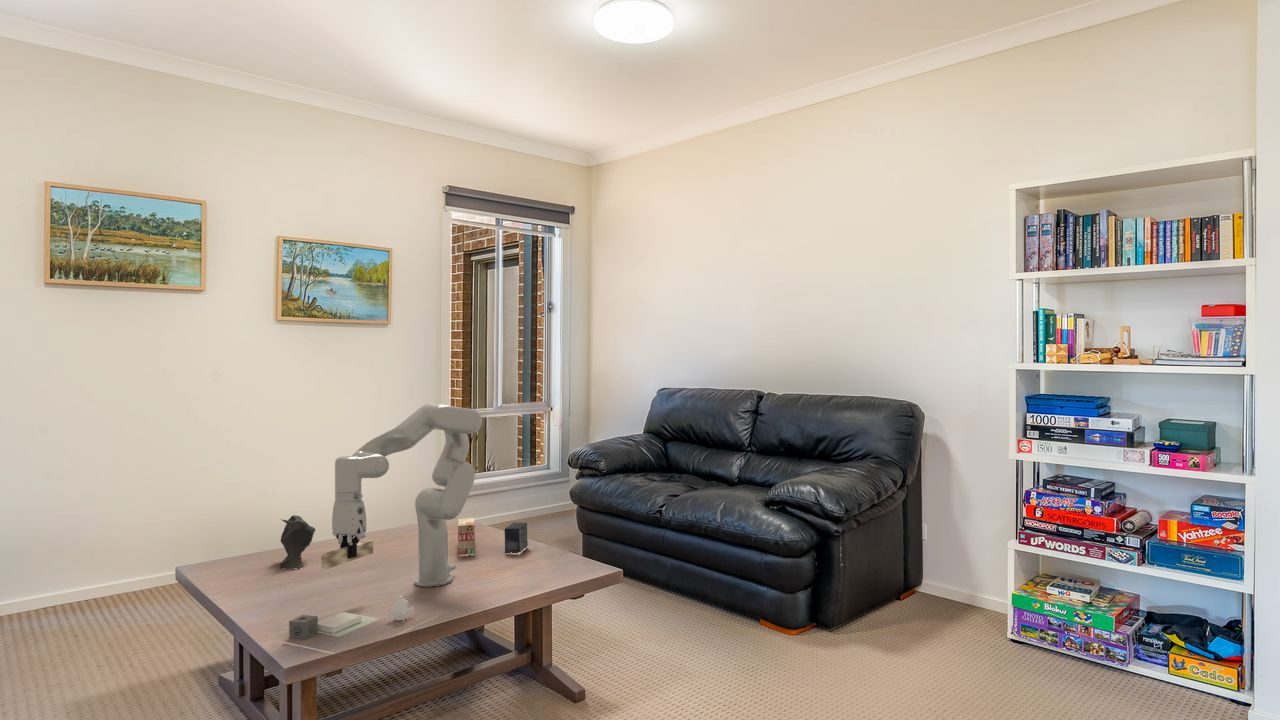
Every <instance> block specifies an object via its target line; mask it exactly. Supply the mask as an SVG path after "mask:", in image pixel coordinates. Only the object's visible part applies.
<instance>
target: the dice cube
mask: <svg viewBox="0 0 1280 720" xmlns="http://www.w3.org/2000/svg"><path fill="white" fill-rule="evenodd" d="M318 621H319V617H318V615H308V614H301V615H298V616H297V617H295V618H292V619H291V620H289V621H288V624H289V625H288V627H289V629H288V630H289V631H288V632H289V633H288V634H289V637H288V638H289V639H294V640H296V639H297V640H307V639H309V638H311V637H313V636H314V635H317V634H318Z"/></svg>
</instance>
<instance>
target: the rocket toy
mask: <svg viewBox="0 0 1280 720" xmlns="http://www.w3.org/2000/svg"><path fill="white" fill-rule="evenodd" d="M409 603H410V602H409V601H408V600H407V599H405V598H404V596H403V595H401V593H400V595H398V596H397V599H396V601H395V602H394V605H393V606H392V610H391V611H388V612H386V615H387V618H388V619H389V621H390V622H392V621H393V620H392V617H391V616H393V618H394V620H395V621H402V623H405V620H406V619H407V617H408V614H409V618H412V614H413V612H414V606H411V607H409Z"/></svg>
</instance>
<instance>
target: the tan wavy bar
mask: <svg viewBox="0 0 1280 720" xmlns="http://www.w3.org/2000/svg"><path fill="white" fill-rule="evenodd" d="M371 554H374V540H371V539H365V540H363V541H359V543H358V544H357V556H356V557H353V558H350V559H348V558H347V547H344V548H340V547H339V548H337V549H335V550H331V551H329V552H324V553H322V554H320V565H321V566H320V569H325V570H328V569H331V568H335V567H337V566H340V565H343V564H346V563H348V562H351V561H354V560H357V559H360V558H361V559H362V558H363V557H366V556H369V555H371Z"/></svg>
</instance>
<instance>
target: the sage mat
mask: <svg viewBox="0 0 1280 720" xmlns="http://www.w3.org/2000/svg"><path fill="white" fill-rule="evenodd" d="M343 612H344V613H349V614H354V615H358V614H357V613H351V612H347V611H343ZM359 615H360V616H362V621H361V622H359V623H356V624H354V625H352V626H349V627H347V628H345V629H342V630H340V631H338V632H335V633H330V632H326V631H321V630H318V633H319V634H323V635H327V636H332V637H337V638H339V637H342V636H344V635H347V634H349V633H351V632H353V631H356V630H358V629H360V628H362V627H365V626H367V625H369V624H372V623H374V622H377V621H379V620H380V618H377V617H373V616H372V617H371V616H367V615H363V614H362V615H361V614H359ZM318 633H317V634H318Z"/></svg>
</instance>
